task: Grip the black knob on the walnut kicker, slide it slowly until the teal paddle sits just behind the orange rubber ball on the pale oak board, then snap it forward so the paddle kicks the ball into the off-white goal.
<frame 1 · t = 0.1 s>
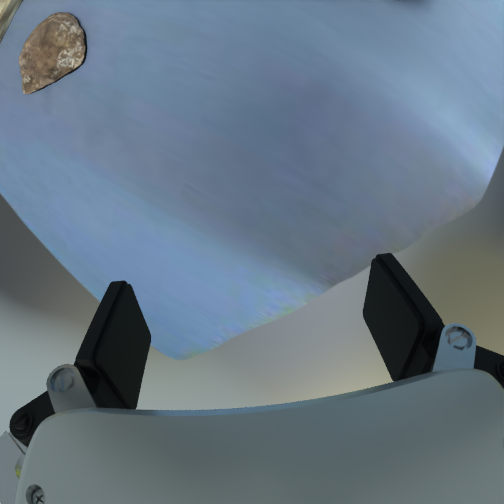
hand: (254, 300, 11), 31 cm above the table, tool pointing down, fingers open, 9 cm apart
shell: (53, 50, 27), on the table
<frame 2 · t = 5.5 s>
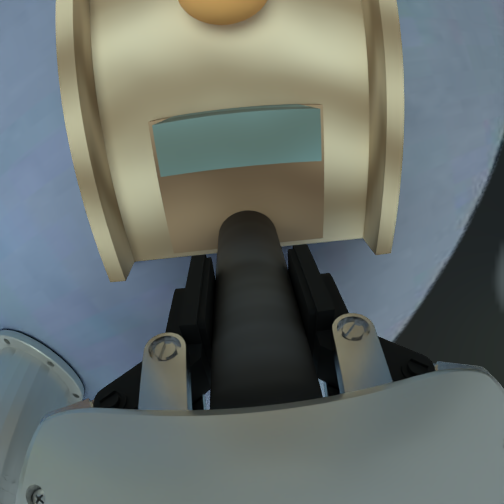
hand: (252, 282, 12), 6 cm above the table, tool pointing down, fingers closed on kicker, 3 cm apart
kicker: (247, 232, 10), point 7 cm above the table, slide at 0.0 cm, touching gripper
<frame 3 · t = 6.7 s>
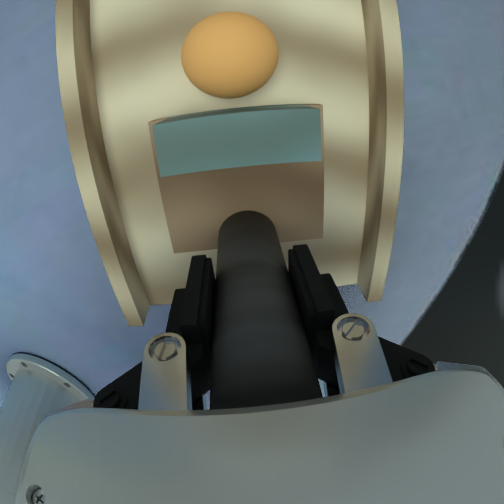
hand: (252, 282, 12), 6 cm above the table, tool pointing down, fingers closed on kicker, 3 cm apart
kicker: (247, 232, 10), point 7 cm above the table, slide at 3.5 cm, touching gripper
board: (228, 44, 12), on the table
ball: (229, 54, 10), point 3 cm above the table, touching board
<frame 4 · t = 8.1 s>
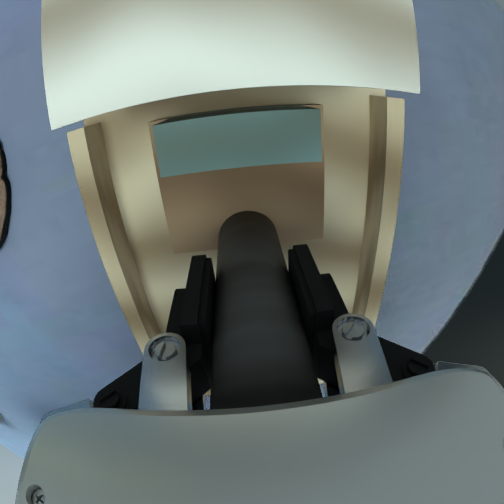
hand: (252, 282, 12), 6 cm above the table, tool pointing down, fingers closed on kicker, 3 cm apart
kicker: (247, 232, 10), point 7 cm above the table, slide at 14.9 cm, touching gripper
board: (248, 240, 18), on the table
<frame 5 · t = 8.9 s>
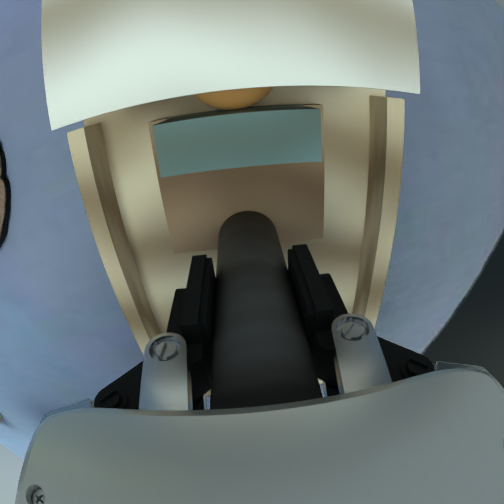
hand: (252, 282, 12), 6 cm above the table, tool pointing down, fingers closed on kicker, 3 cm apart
kicker: (247, 232, 10), point 7 cm above the table, slide at 14.9 cm, touching gripper
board: (248, 240, 18), on the table
ball: (231, 65, 10), point 3 cm above the table, tilted 62°, touching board
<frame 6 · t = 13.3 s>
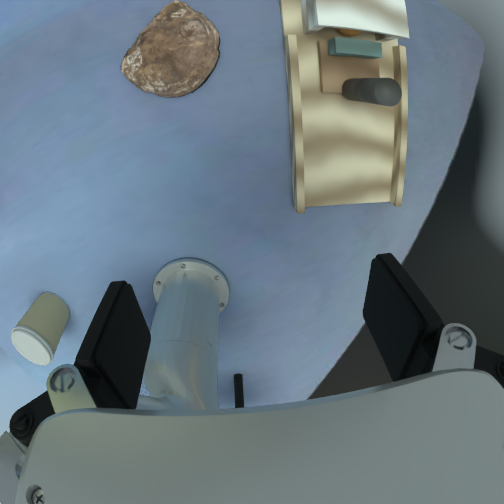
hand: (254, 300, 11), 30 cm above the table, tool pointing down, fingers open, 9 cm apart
kicker: (366, 69, 26), point 7 cm above the table, slide at 15.0 cm
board: (346, 99, 34), on the table
shell: (174, 54, 30), on the table
coffee cup: (54, 306, 49), on the table
ball: (349, 22, 26), point 3 cm above the table, tilted 38°, touching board
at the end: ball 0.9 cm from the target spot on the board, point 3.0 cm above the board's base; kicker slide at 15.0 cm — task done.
